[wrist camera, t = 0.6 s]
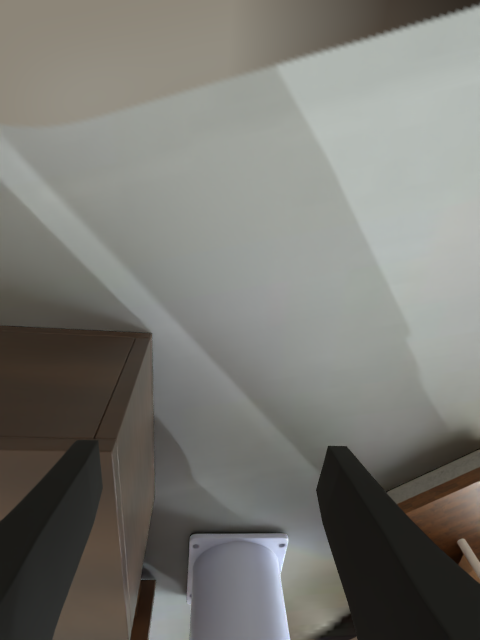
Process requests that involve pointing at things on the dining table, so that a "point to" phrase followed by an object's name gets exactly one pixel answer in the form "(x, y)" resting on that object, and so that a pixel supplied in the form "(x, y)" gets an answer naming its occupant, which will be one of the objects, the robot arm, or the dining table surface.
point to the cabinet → (114, 447)
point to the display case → (448, 509)
